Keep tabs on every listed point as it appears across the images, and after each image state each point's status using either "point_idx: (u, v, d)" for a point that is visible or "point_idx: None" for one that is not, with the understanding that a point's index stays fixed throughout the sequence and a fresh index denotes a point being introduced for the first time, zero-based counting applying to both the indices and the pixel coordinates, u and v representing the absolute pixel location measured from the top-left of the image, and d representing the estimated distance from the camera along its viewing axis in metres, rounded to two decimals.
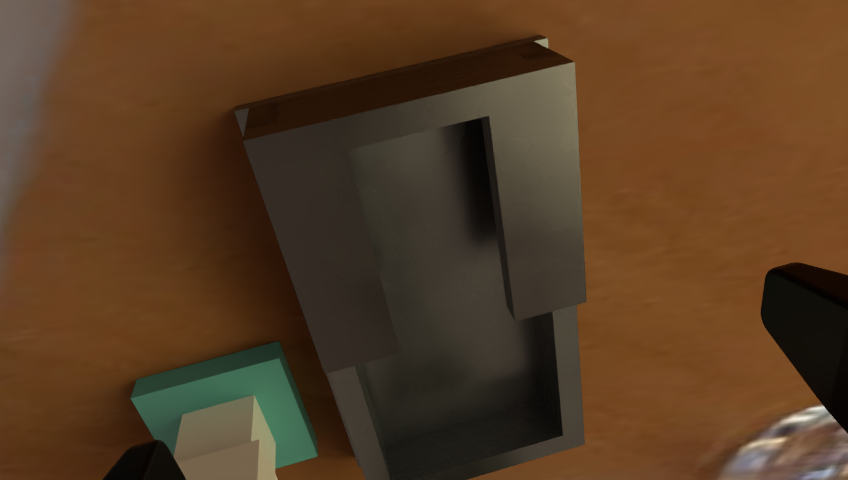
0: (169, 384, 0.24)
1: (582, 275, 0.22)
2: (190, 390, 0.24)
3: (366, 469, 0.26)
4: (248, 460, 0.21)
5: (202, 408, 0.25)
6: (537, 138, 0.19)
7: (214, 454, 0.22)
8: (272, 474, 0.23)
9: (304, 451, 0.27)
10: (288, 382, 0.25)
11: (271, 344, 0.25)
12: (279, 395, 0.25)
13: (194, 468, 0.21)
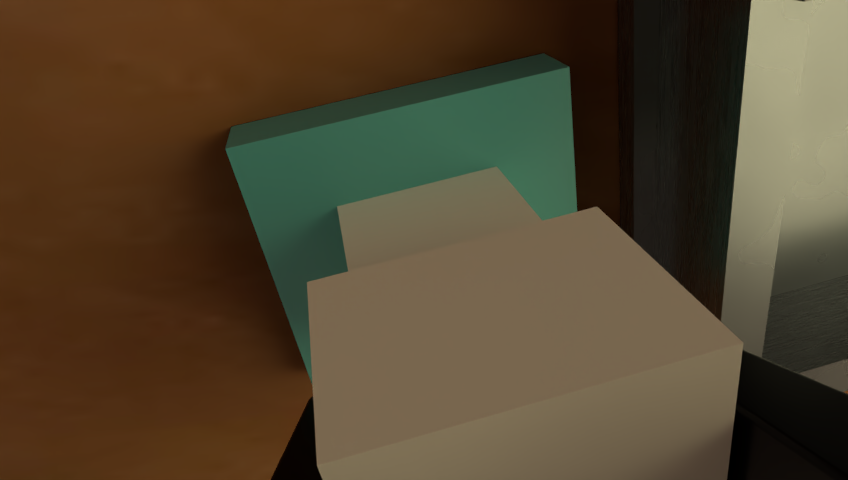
0: (315, 123, 0.10)
1: None
2: (363, 139, 0.10)
3: None
4: (601, 243, 0.07)
5: (383, 193, 0.11)
6: None
7: (483, 241, 0.08)
8: None
9: None
10: (571, 141, 0.11)
11: (530, 58, 0.11)
12: (547, 174, 0.11)
13: (440, 269, 0.07)
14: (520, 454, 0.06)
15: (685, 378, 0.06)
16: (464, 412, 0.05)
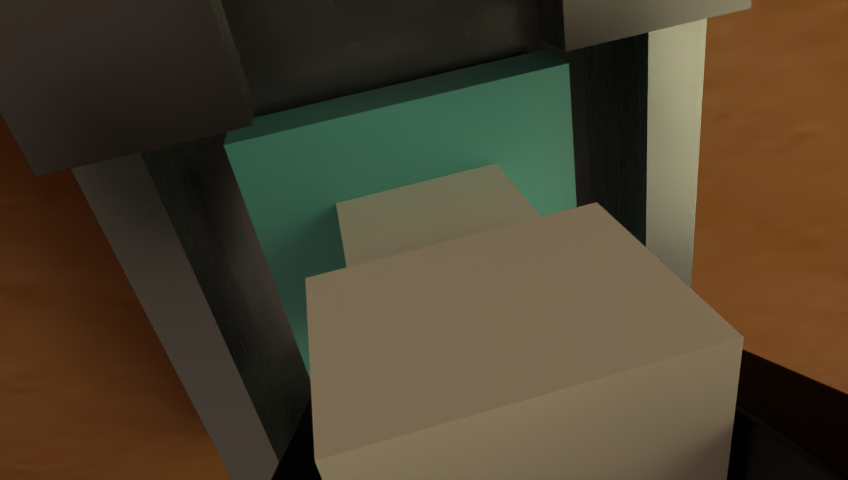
0: (313, 120, 0.10)
1: None
2: (362, 136, 0.10)
3: (228, 453, 0.12)
4: (601, 238, 0.07)
5: (382, 190, 0.11)
6: None
7: (482, 236, 0.08)
8: None
9: None
10: (571, 138, 0.11)
11: (529, 55, 0.11)
12: (546, 170, 0.11)
13: (438, 265, 0.07)
14: (519, 450, 0.06)
15: (684, 374, 0.06)
16: (462, 406, 0.05)
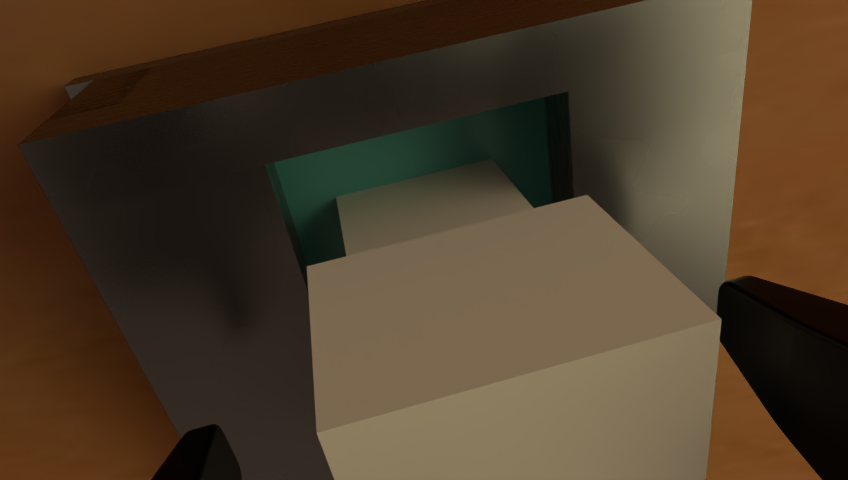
0: None
1: None
2: None
3: None
4: (590, 228, 0.08)
5: (380, 184, 0.11)
6: (660, 139, 0.09)
7: (476, 227, 0.08)
8: None
9: None
10: None
11: None
12: (541, 166, 0.12)
13: (435, 254, 0.08)
14: (509, 425, 0.06)
15: (666, 353, 0.06)
16: (455, 384, 0.06)
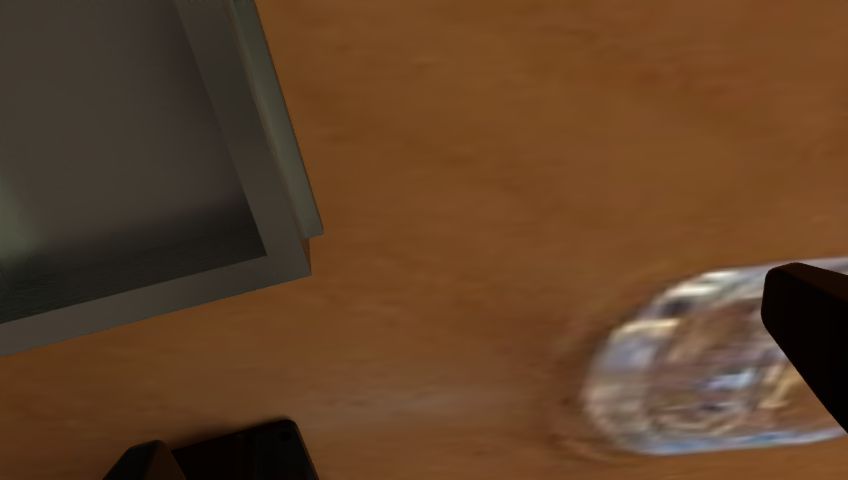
0: None
1: None
2: None
3: None
4: None
5: None
6: None
7: None
8: None
9: None
10: None
11: None
12: None
13: None
14: None
15: None
16: None
